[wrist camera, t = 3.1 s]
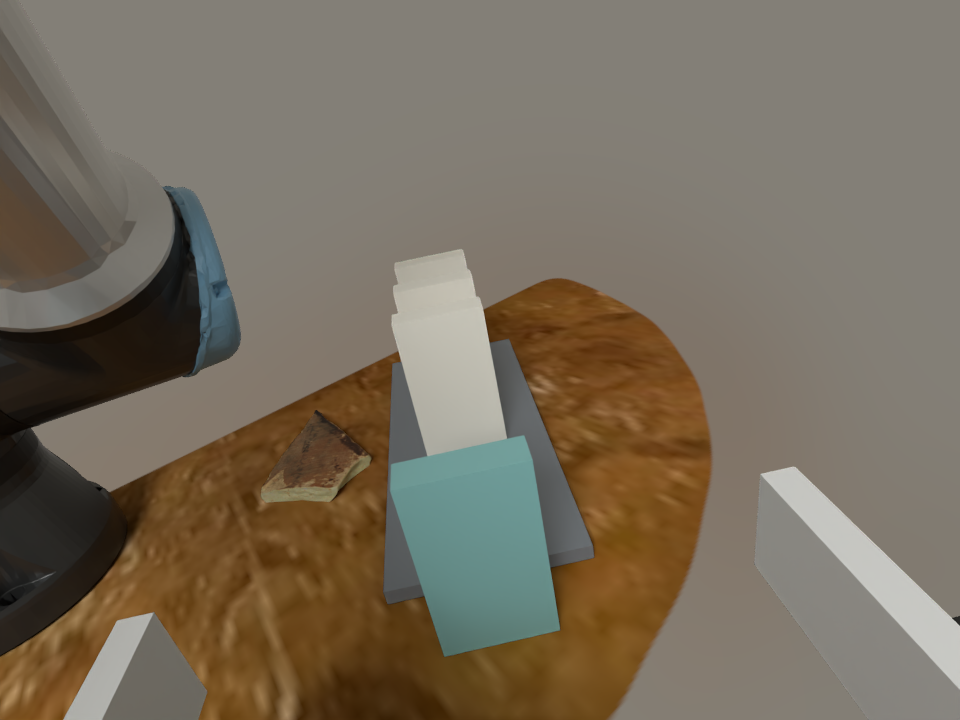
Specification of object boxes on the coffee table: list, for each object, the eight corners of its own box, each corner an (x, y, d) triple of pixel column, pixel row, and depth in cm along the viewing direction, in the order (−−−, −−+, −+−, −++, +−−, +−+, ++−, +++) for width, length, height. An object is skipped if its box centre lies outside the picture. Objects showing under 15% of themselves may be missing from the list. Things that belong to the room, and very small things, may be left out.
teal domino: (444, 656, 28) (390, 491, 23) (442, 625, 29) (391, 464, 24) (560, 630, 28) (532, 460, 23) (551, 600, 29) (524, 435, 24)
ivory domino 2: (425, 415, 46) (393, 293, 41) (424, 404, 47) (393, 285, 42) (495, 400, 46) (472, 276, 41) (492, 389, 47) (469, 269, 42)
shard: (320, 423, 51) (314, 406, 50) (398, 418, 49) (393, 401, 48) (261, 507, 41) (252, 489, 40) (354, 506, 40) (347, 487, 39)
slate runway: (387, 604, 31) (383, 592, 31) (395, 372, 56) (392, 363, 55) (594, 557, 31) (592, 545, 31) (510, 347, 56) (508, 338, 56)
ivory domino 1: (423, 380, 51) (394, 269, 46) (422, 371, 53) (394, 262, 48) (486, 367, 51) (464, 254, 46) (483, 358, 53) (462, 248, 48)
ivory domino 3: (428, 459, 40) (391, 325, 35) (427, 445, 42) (391, 314, 37) (507, 441, 41) (482, 306, 35) (503, 428, 42) (479, 296, 37)
